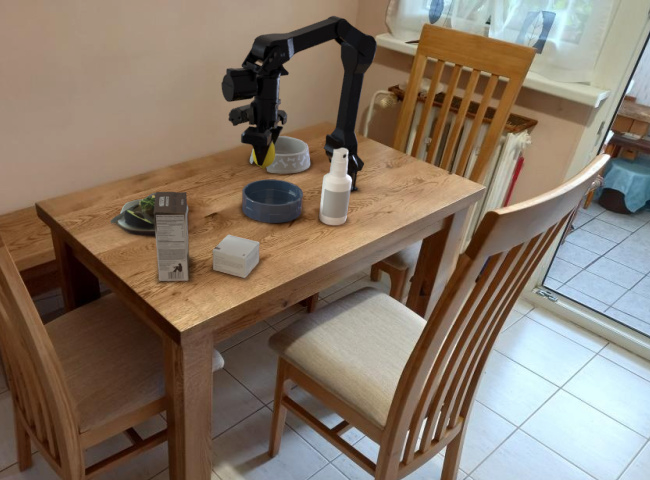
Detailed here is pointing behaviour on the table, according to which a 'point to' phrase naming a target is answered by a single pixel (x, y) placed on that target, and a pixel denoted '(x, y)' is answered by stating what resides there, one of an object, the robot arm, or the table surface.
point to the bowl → (272, 201)
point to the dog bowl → (289, 156)
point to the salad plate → (138, 217)
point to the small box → (236, 256)
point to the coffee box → (172, 235)
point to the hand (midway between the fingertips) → (263, 160)
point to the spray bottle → (336, 190)
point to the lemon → (267, 157)
